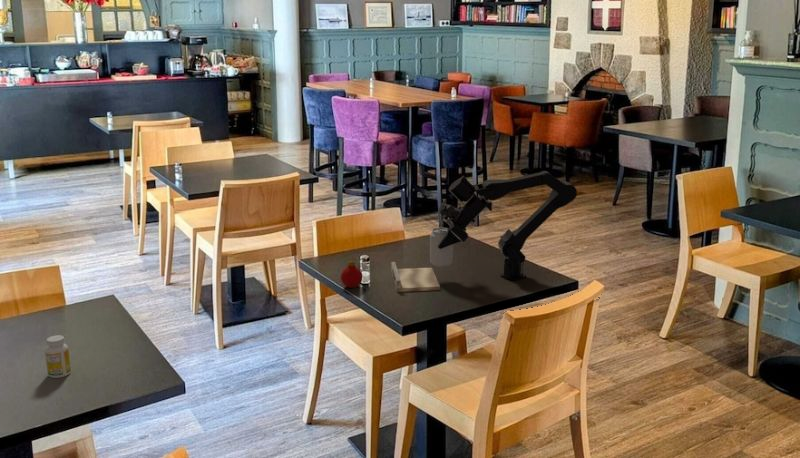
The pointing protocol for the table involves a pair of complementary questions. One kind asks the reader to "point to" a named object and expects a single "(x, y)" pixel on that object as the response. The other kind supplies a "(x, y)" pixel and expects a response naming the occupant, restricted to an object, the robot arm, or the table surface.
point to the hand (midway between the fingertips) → (437, 244)
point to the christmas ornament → (351, 275)
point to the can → (440, 255)
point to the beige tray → (414, 279)
